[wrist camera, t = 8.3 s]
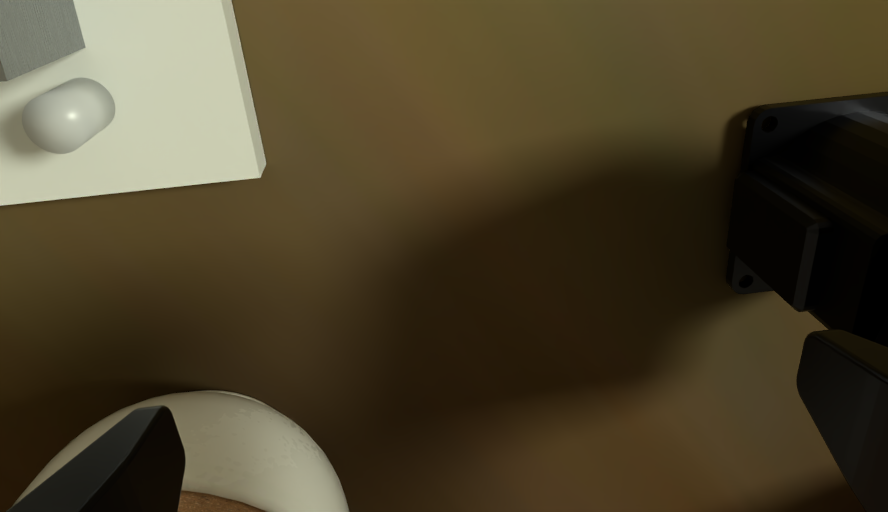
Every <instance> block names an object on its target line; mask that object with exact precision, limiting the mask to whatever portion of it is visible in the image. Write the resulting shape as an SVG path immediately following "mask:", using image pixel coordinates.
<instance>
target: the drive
mask: <svg viewBox="0 0 888 512" xmlns="http://www.w3.org/2000/svg"><path fill="white" fill-rule="evenodd" d="M83 48H86V47H85V43H84V39H83V36H82V32H81V28H80V24H79V20H78V17H77V13H76V9H75V5H74V2H73V0H0V82H3V81H9V80H11V79H14V78H16V77H18V76H21V75H23V74H25V73H28V72H30V71H32V70H35V69H37V68H39V67H42V66H44V65H46V64H49V63H51V62H53V61H56V60H58V59H60V58H62V57H65V56H67V55H69V54H72V53H74V52H76V51H79V50H81V49H83Z"/></svg>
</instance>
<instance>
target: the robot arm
mask: <svg viewBox="0 0 888 512" xmlns="http://www.w3.org/2000/svg"><path fill="white" fill-rule="evenodd" d="M769 116H770V117H771V121H770V123H769V125H768V126H767V127H766V128H763V129H762V126H761V125H762V122H763V121H764V120H765V119H766V118H767V117H769ZM727 247H728V249H729V250H730V253H729V260H728V268H727V275H726V281H727V284H728V285H729V286H730V287H731V288H732V289H733V290H734V291H735V292H736V293H738V294H748V293H757V292H765V291H773V290H774V291H775V292H776V293H777V294H778V295H780V296H781V297H782V298H783V299H784V300H785V301H786V302H787V303H788V304H789V305H790V306H792V307H793V308H794V309H795V310H796V311H798V312H804V311H808V312H809V313H811V314H812V315H813V316H814V317H815V318H816V319H817V320H818V321H819V322H821V323H822V324H823V325H824V326H825V327H826V328H827V329H828V330H823V331H814V332H812V333H810V334H808V335H807V337H806V338H805V341H804V345H803V350H802V355H801V359H800V364H799V369H798V373H797V389H798V392H799V395H800V397H801V399H802V401H803V402H804V404H805V406H806V408H807V410H808V412H809V413H810V415H811V417H812V419H813V421H814V423H815V424H816V426H817V428H818V430H819V432H820V434H821V435H822V437H823V439H824V441H825V443H826V445H827V446H828V448H829V450H830V452H831V454H832V456H833V457H834V459H835V461H836V463H837V465H838V467H839V468H840V470H841V472H842V474H843V475H844V477H845V479H846V481H847V482H848V484H849V486H850V487H851V489H852V490H853V492H854V494H855V495H856V497H857V498H858V500H859V501H860V503H861V504H862V506H863V507H864V509H865V510H866V512H888V92H881V93H872V94H862V95H853V96H843V97H834V98H825V99H815V100H806V101H796V102H787V103H777V104H768V105H763V106H759V107H758V108H756V109H755V110H754V111H753V112H752V113H751V114H750V116H749V118H748V121H747V127H746V134H745V141H744V149H743V156H742V164H741V171H740V174H739V175H738V177H737V178H736V180H735V186H734V193H733V201H732V209H731V216H730V224H729V231H728V239H727ZM745 275H747V277H746V279H745V280H744V281H742V282H739V280H740V279H741V278H742V277H743V276H745ZM185 464H186V458H185V451H184V447H183V444H182V441H181V438H180V435H179V432H178V429H177V426H176V423H175V420H174V417H173V414H172V412H171V410H170V409H169V408H168V407H166V406H164V405H159V406H150V407H141V408H137V409H135V410H133V411H132V412H130V413H129V414H128V415H127V416H125V417H124V418H123V419H122V420H120V421H119V422H118V423H117V424H115V425H114V426H113V427H112V428H110V429H109V430H108V431H107V432H105V433H104V434H103V435H101V436H100V437H99V438H98V439H96V440H95V441H94V442H93V443H91V444H90V445H89V446H88V447H86V448H85V449H84V450H83V451H81V452H80V453H79V454H78V455H76V456H75V457H74V458H73V459H71V460H70V461H69V462H68V463H66V464H65V465H64V466H62V467H61V468H60V469H59V470H57V471H56V472H55V473H54V474H52V475H51V476H50V477H49V478H47V479H46V480H45V481H44V482H42V483H41V484H40V485H39V486H37V487H36V488H35V489H34V490H32V491H31V492H30V493H29V494H27V495H26V496H25V497H23V498H22V499H21V500H20V501H18V502H17V503H16V504H15V505H13V506H12V507H11V508H10V509H8V510H7V511H6V512H178V507H179V501H180V495H181V489H182V484H183V478H184V472H185Z"/></svg>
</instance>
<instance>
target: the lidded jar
mask: <svg viewBox="0 0 888 512" xmlns="http://www.w3.org/2000/svg"><path fill="white" fill-rule="evenodd" d="M159 405H164V406H166V407H168V408H169V409H170V410H171V412H172V414H173V417H174V420H175V423H176V426H177V429H178V432H179V435H180V438H181V441H182V444H183V447H184V451H185V458H186V464H185V472H184V478H183V484H182V489H181V495H180V501H179V507H178V512H349V509H348V505H347V501H346V497H345V494H344V492H343V489H342V486H341V483H340V480H339V478H338V476H337V474H336V472H335V470H334V468H333V466H332V465H331V463H330V462H329V460H328V458H327V457H326V455H325V453H324V452H323V451H322V449H321V448H320V447H319V446H318V445H317V444H316V443H315V441H314V440H313V439H312V438H311V437H310V436H309V435H308V434H307V433H306V431H305V430H303V429H302V428H301V427H300V426H299V425H297V424H296V423H295V422H294V421H292V420H291V419H290V418H288V417H286V416H285V415H283V414H281V413H280V412H278V411H276V410H275V409H274V408H272V407H270V406H269V405H267V404H265V403H264V402H262V401H259V400H257V399H255V398H252V397H250V396H247V395H243V394H240V393H236V392H229V391H223V390H202V391H193V392H183V393H172V394H167V395H163V396H158V397H153V398H150V399H147V400H145V401H142V402H139V403H136V404H134V405H131V406H128V407H125V408H122V409H120V410H118V411H116V412H115V413H113V414H111V415H109V416H107V417H105V418H103V419H102V420H100V421H99V422H97V423H96V424H94V425H92V426H91V427H89V428H88V429H86V430H85V431H84V432H82V433H81V434H80V435H79V436H77V437H76V438H75V439H73V440H72V441H71V442H70V443H68V444H67V445H66V446H65V447H64V448H63V449H62V450H61V451H60V452H59V453H58V454H57V455H56V456H55V457H54V458H53V459H52V460H50V462H49V463H48V464H47V465H46V466H45V467H44V468H43V470H42V471H41V472H40V473H39V474H38V475H37V476H36V478H35V479H34V480H33V481H32V482H31V484H30V485H29V486H28V487H27V488H26V489H25V491H24V492H23V493H22V494H21V495H20V497H19V498H18V499H17V500H16V502H15V503H14V505H15V504H16V503H17V502H18V501H20V500H21V499H22V498H23V497H25V496H26V495H27V494H29V493H30V492H31V491H32V490H34V489H35V488H36V487H37V486H39V485H40V484H41V483H42V482H44V481H45V480H46V479H47V478H49V477H50V476H51V475H52V474H54V473H55V472H56V471H57V470H59V469H60V468H61V467H62V466H64V465H65V464H66V463H68V462H69V461H70V460H71V459H73V458H74V457H75V456H76V455H78V454H79V453H80V452H81V451H83V450H84V449H85V448H86V447H88V446H89V445H90V444H91V443H93V442H94V441H95V440H96V439H98V438H99V437H100V436H101V435H103V434H104V433H105V432H107V431H108V430H109V429H110V428H112V427H113V426H114V425H115V424H117V423H118V422H119V421H120V420H122V419H123V418H124V417H125V416H127V415H128V414H129V413H130V412H132V411H133V410H135V409H137V408H141V407H150V406H159Z"/></svg>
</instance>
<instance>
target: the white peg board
mask: <svg viewBox="0 0 888 512" xmlns="http://www.w3.org/2000/svg"><path fill="white" fill-rule="evenodd" d="M73 2H74V5H75V9H76V13H77V17H78V20H79V24H80V28H81V32H82V36H83V39H84V43H85V47H86V48H83V49H81V50H79V51H76V52H74V53H72V54H69V55H67V56H65V57H62V58H60V59H58V60H56V61H53V62H51V63H49V64H46V65H44V66H42V67H39V68H37V69H35V70H32V71H30V72H28V73H25V74H23V75H21V76H18V77H16V78H14V79H11V80H9V81H3V82H0V206H1V205H10V204H20V203H29V202H38V201H48V200H57V199H66V198H76V197H85V196H94V195H103V194H113V193H122V192H131V191H141V190H150V189H159V188H169V187H178V186H187V185H196V184H206V183H215V182H224V181H234V180H243V179H252V178H260V177H261V175H262V172H263V170H264V168H265V166H266V160H265V155H264V151H263V146H262V141H261V137H260V132H259V127H258V123H257V118H256V113H255V109H254V104H253V99H252V95H251V90H250V85H249V81H248V76H247V71H246V67H245V62H244V57H243V52H242V48H241V43H240V38H239V34H238V29H237V24H236V20H235V15H234V10H233V6H232V1H231V0H73Z"/></svg>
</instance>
